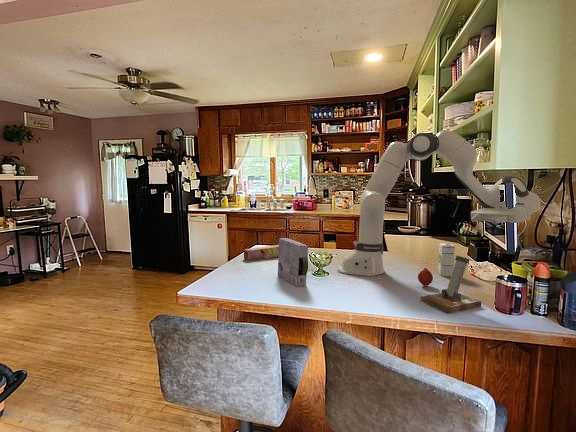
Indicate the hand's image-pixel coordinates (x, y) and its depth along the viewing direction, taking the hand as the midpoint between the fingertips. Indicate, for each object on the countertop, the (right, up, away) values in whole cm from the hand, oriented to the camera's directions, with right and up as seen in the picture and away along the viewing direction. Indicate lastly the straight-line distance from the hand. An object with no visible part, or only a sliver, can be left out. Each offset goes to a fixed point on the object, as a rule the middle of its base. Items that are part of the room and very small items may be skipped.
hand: (483, 220), depth 131 cm
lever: (-17, -27, -10) cm, 33 cm away
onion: (-18, -28, +11) cm, 35 cm away
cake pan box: (-74, -27, +17) cm, 81 cm away
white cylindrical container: (-2, -26, +28) cm, 39 cm away
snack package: (-90, -22, +59) cm, 110 cm away
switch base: (-17, -30, -9) cm, 36 cm away
